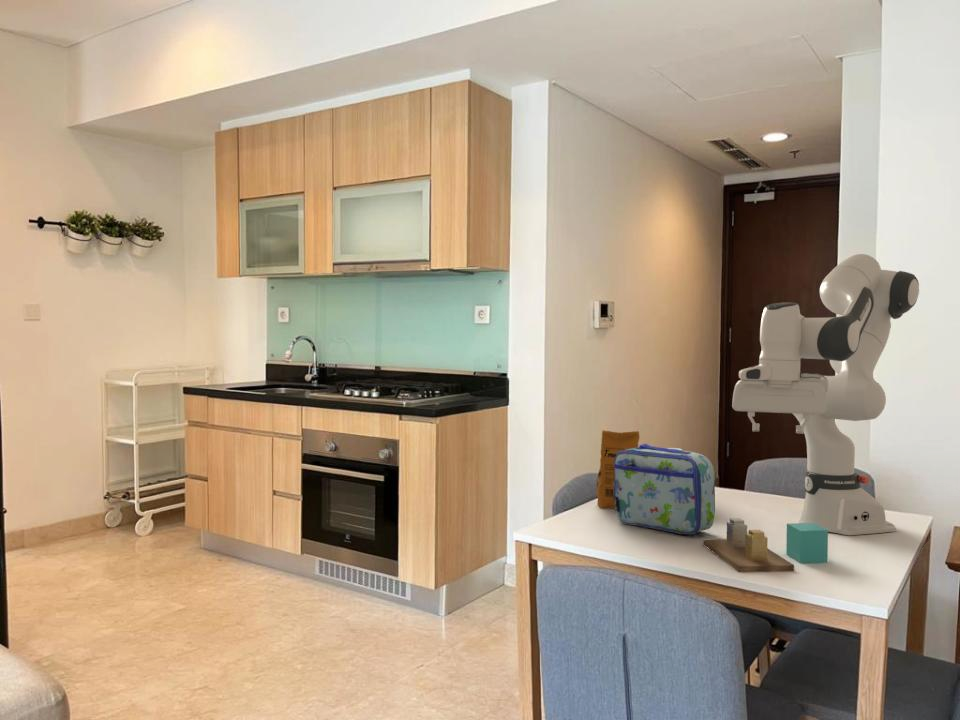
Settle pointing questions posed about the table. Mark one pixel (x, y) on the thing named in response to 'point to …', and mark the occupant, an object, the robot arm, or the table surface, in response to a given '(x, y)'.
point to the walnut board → (742, 563)
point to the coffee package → (612, 463)
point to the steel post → (736, 532)
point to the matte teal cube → (807, 543)
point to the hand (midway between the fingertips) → (777, 432)
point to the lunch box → (664, 489)
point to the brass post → (756, 545)
